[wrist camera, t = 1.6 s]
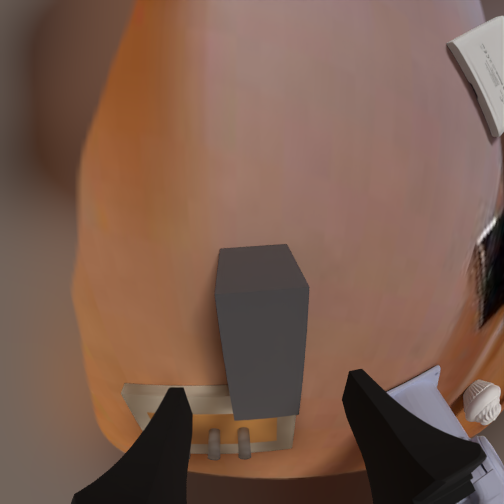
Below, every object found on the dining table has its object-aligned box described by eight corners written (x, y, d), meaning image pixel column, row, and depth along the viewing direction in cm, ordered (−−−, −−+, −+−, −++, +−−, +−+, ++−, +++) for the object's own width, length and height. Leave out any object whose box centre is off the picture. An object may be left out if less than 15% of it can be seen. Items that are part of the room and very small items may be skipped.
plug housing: (219, 248, 16) (214, 294, 11) (286, 244, 16) (309, 286, 11) (233, 363, 19) (234, 420, 14) (285, 359, 19) (298, 414, 14)
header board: (295, 378, 20) (306, 420, 16) (290, 439, 24) (296, 472, 20) (124, 383, 19) (111, 421, 16) (157, 442, 23) (151, 473, 19)
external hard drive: (529, 88, 12) (487, 136, 14) (493, 17, 10) (441, 44, 12) (539, 88, 11) (501, 138, 13) (504, 14, 8) (454, 40, 10)
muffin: (458, 407, 27) (478, 439, 20) (451, 397, 25) (475, 433, 18) (488, 379, 25) (511, 408, 19) (485, 365, 24) (512, 397, 17)
